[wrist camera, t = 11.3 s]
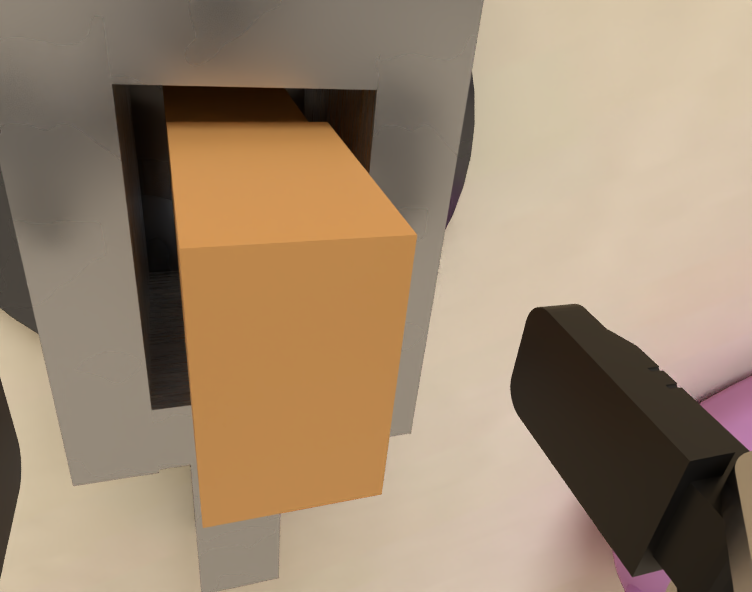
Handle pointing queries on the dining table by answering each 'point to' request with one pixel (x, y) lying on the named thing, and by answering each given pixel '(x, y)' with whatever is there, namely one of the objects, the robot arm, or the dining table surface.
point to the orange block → (283, 302)
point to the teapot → (745, 422)
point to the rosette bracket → (155, 207)
